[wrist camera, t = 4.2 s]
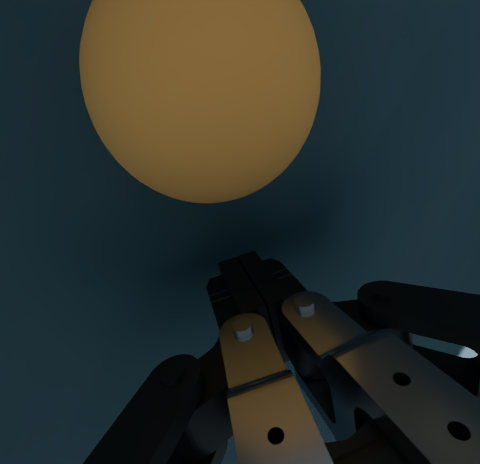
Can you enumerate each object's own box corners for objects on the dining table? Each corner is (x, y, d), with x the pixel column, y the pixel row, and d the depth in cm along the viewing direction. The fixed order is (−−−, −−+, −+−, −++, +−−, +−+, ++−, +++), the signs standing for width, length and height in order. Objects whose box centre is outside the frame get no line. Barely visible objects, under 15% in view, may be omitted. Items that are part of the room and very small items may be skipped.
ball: (-19, 17, 3) (32, -81, 7) (137, 268, 8) (122, 139, 12) (429, -37, 4) (279, -99, 8) (331, 217, 9) (265, 111, 13)
